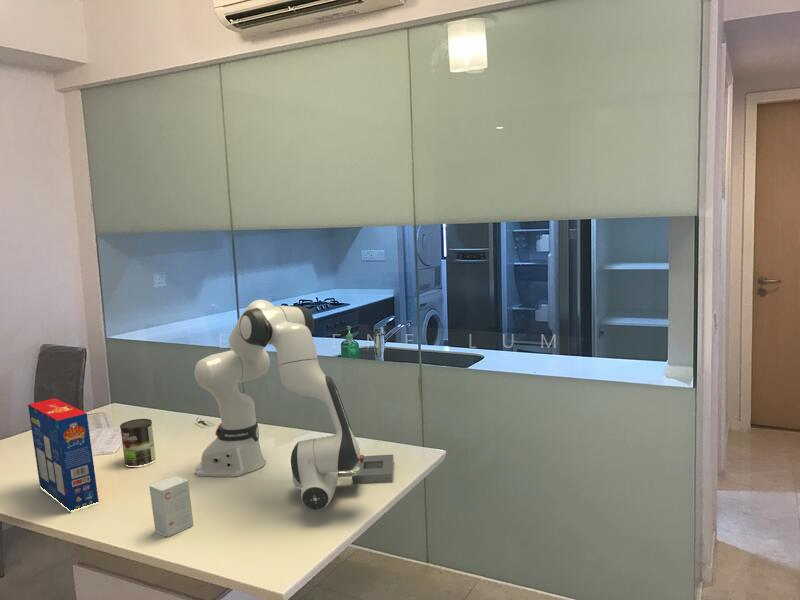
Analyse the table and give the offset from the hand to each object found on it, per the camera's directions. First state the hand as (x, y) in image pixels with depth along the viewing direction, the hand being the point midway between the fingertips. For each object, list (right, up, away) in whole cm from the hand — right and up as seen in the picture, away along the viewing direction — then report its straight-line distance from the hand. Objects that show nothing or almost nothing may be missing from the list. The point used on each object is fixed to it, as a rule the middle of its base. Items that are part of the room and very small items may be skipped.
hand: (328, 457), depth 208 cm
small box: (-39, -13, -26) cm, 48 cm away
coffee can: (-68, -8, +27) cm, 73 cm away
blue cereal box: (-80, -13, +2) cm, 81 cm away
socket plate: (+14, -6, +4) cm, 15 cm away
